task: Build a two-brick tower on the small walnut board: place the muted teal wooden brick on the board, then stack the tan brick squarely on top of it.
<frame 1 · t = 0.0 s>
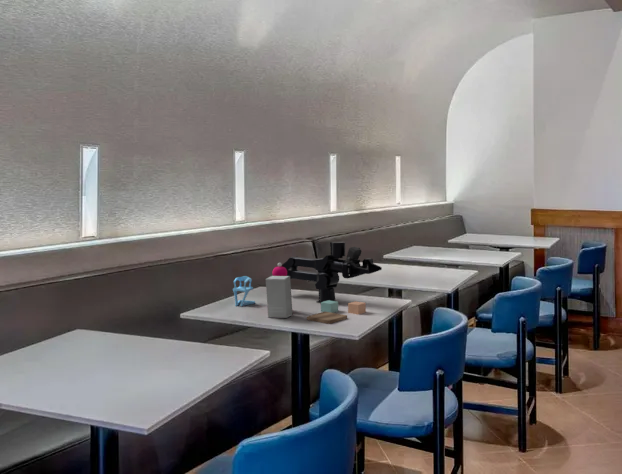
hand: (375, 269, 244), 17 cm above the table, tool horizontal, fingers open, 9 cm apart
tan brick: (356, 312, 241), on the table
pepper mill: (280, 311, 245), on the table
skincare box: (279, 317, 236), on the table
teal brick: (329, 311, 244), on the table
chair: (243, 304, 259), on the table
walnut board: (327, 319, 231), on the table
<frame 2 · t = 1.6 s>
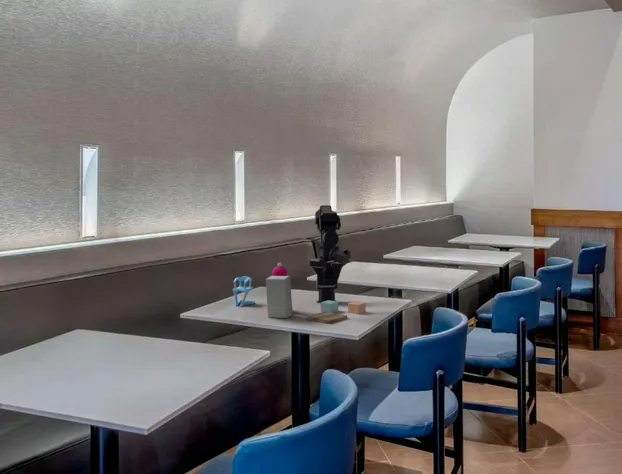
hand: (329, 282, 243), 12 cm above the table, tool pointing down, fingers open, 9 cm apart
nothing on the table moved.
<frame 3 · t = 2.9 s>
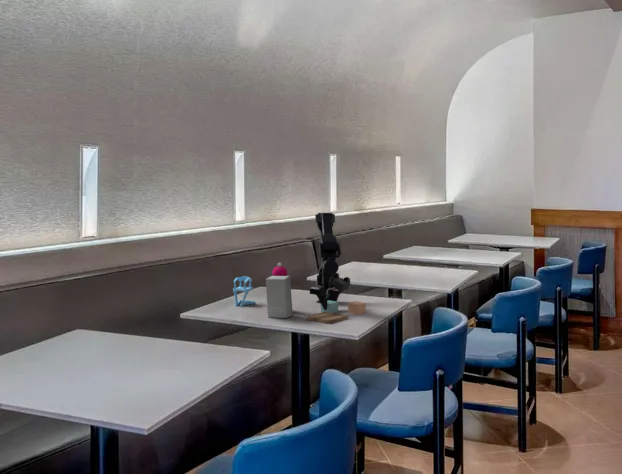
hand: (329, 308, 244), 1 cm above the table, tool pointing down, fingers closed on teal brick, 5 cm apart
teal brick: (329, 311, 244), on the table, touching gripper
everything else where it was.
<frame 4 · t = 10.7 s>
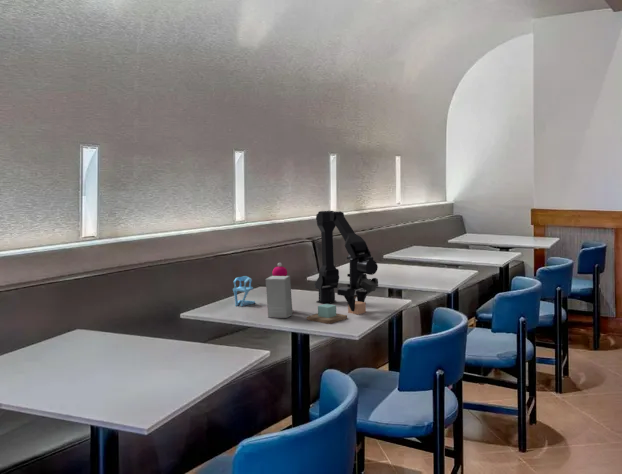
hand: (356, 309, 241), 1 cm above the table, tool pointing down, fingers closed on tan brick, 5 cm apart
tan brick: (356, 312, 241), on the table, touching gripper
teal brick: (327, 315, 231), point 1 cm above the table, touching walnut board
everything else where it was.
when the fingers open (7 cm above the table, at t = 14.0 s): tan brick stays where it is, resting on teal brick.
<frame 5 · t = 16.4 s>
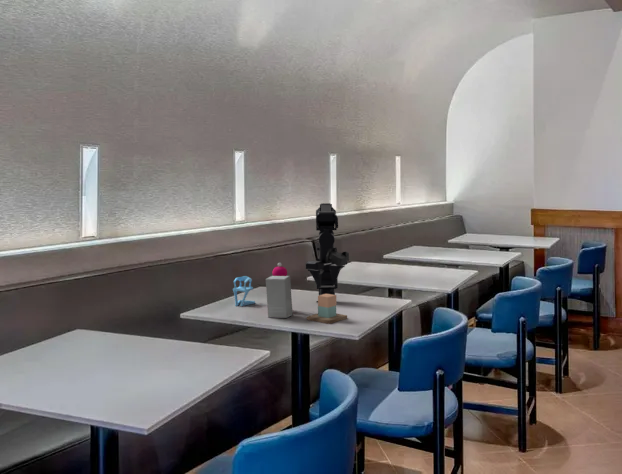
hand: (326, 285, 229), 13 cm above the table, tool pointing down, fingers open, 9 cm apart
tan brick: (327, 305, 230), point 5 cm above the table, touching teal brick
teal brick: (327, 315, 231), point 1 cm above the table, touching tan brick, walnut board
everything else where it was.
at the end: teal brick inside the target area on the walnut board (0.0 cm from its centre), point 1.2 cm above the walnut board's base; tan brick 0.1 cm off-centre on the teal brick, point 4.0 cm above the teal brick's base; tan brick tilted 0° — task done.
